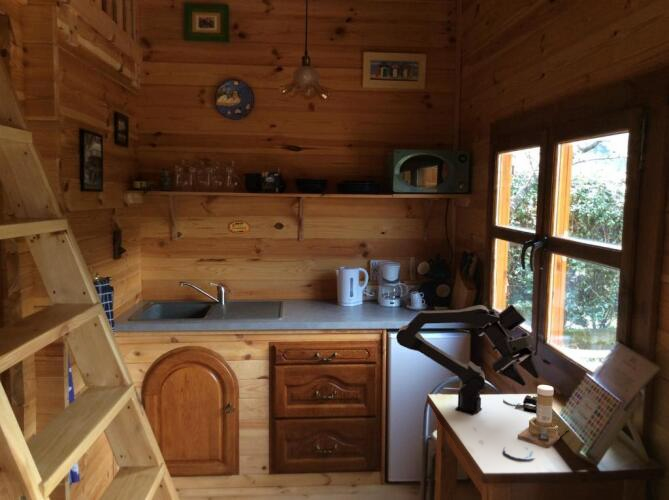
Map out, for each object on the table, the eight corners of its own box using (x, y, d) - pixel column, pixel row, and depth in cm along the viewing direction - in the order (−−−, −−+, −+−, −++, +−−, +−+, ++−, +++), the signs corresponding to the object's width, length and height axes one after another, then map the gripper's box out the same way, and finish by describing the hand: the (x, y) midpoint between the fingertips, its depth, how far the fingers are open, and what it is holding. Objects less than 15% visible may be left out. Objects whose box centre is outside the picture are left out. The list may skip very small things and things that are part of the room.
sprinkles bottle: (551, 429, 166) (554, 385, 165) (551, 435, 162) (553, 390, 161) (535, 426, 168) (537, 383, 166) (534, 432, 164) (536, 388, 162)
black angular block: (552, 411, 184) (553, 397, 183) (547, 418, 178) (548, 405, 177) (514, 403, 190) (514, 390, 190) (508, 410, 184) (509, 397, 184)
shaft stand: (517, 438, 162) (518, 426, 162) (540, 421, 174) (540, 410, 174) (548, 447, 156) (548, 435, 156) (569, 429, 168) (570, 418, 168)
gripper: (502, 330, 166) (537, 374, 159) (531, 320, 179) (563, 361, 173) (478, 350, 172) (510, 394, 166) (507, 339, 186) (537, 379, 179)
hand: (531, 381), depth 171 cm, fingers open, 9 cm apart
